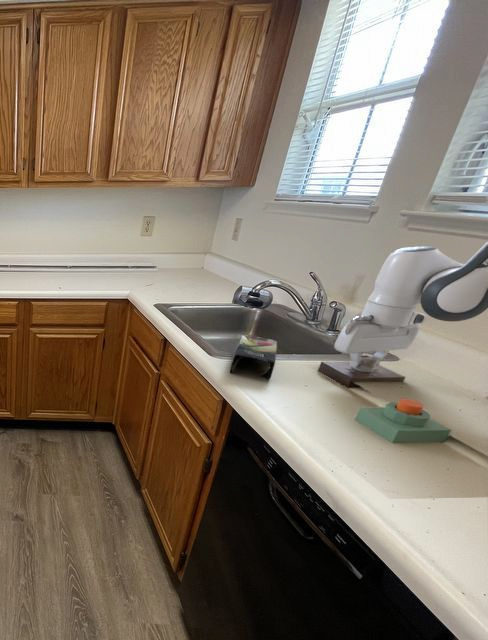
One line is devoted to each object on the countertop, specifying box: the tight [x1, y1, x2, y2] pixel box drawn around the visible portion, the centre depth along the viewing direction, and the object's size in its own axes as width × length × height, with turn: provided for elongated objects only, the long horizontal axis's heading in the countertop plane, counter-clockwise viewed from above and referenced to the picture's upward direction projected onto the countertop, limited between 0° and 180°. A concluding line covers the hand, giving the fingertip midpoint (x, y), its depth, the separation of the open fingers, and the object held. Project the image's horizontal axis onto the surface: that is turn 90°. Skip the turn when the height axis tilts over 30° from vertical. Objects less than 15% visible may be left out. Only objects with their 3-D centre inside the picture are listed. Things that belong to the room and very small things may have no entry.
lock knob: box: [352, 353, 378, 372], centre depth 107 cm, size 4×4×4 cm
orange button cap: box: [396, 398, 425, 415], centre depth 85 cm, size 4×4×2 cm
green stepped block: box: [354, 401, 452, 444], centre depth 86 cm, size 11×9×5 cm
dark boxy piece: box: [229, 334, 278, 381], centre depth 116 cm, size 20×10×6 cm, turn 147°
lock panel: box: [317, 360, 406, 389], centre depth 109 cm, size 14×10×3 cm
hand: (363, 365), depth 108 cm, fingers closed on lock knob, 4 cm apart
